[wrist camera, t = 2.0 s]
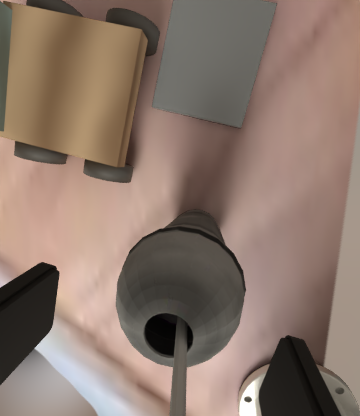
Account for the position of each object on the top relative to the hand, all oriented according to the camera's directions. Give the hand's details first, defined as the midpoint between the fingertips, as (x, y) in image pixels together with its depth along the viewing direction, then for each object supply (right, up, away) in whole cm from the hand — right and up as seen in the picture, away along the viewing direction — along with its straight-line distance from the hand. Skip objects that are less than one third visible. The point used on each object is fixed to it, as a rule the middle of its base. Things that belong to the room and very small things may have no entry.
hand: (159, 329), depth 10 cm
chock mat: (+4, +18, +12) cm, 22 cm away
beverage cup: (+3, +3, +16) cm, 16 cm away
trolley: (-8, +15, +14) cm, 22 cm away
